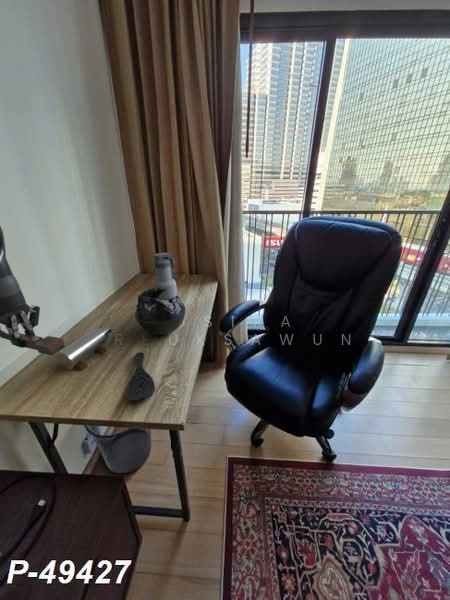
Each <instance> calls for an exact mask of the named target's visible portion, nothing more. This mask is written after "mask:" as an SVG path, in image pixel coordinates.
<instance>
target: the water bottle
mask: <svg viewBox="0 0 450 600" xmlns="http://www.w3.org/2000/svg"><path fill="white" fill-rule="evenodd" d="M153 259H154V262H153V264H154V270H155V273H156V280H155V281H154V283H153V284H154V285H153V286H154V288H155V289H157V288H161V289H166V291H164V292H162V293H161V294H160V295H159V297H158V298H157V299H159V300H164V299H170V298H174V297H176V296H177V295H178V290H177V281H176V280H175V279H177V277H178V275H177V268H176V267H175V263H176V259H175V258H174V256H173V255H171V254H169V253H168V252H158V253H154V254H153ZM173 272H174V274H173Z"/></svg>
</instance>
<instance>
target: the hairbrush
mask: <svg viewBox="0 0 450 600" xmlns="http://www.w3.org/2000/svg"><path fill="white" fill-rule="evenodd" d="M144 360H145V353H144V352H141V351H139V352H137V353H136V354H134V361H135V366H136V367H135V371H134V373H133V374H132V376H131V379H130V381H129V382H128V383H127V388H126V399H127V400H128V401H129V402H130V403H138V402H143V401H145V400H147V399H149V398H151V397H152V396H153V395H154V393H155V391H156V386H155V381H154V379H153V377H152V376H151V375H150V373H149V372H147V370H146V369H144Z"/></svg>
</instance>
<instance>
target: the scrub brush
mask: <svg viewBox="0 0 450 600" xmlns="http://www.w3.org/2000/svg"><path fill="white" fill-rule="evenodd" d="M19 335H20V336H21V338H22V340H23V342H24V344H25V347H24V348H25V349H30V350H35V351H37V352H38V353H39V354H43V355H48V356H55V355H57V353H59V352H60V351H62V350H63V349H65V348H66V346H65V341H64V339H63V338H62V337H56V336H52V335H47V336H45V337H42V336H38V335H35V336H33V335H27V334H25V333H21V332H19ZM9 341H10V343H11V345H12V346H16V345H15V344H14V341H13V339H11V340H9ZM16 347H17V346H16Z"/></svg>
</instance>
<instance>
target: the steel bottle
mask: <svg viewBox="0 0 450 600" xmlns="http://www.w3.org/2000/svg"><path fill="white" fill-rule="evenodd" d="M112 331H113V330H112V328H111V327H110V326H106V327H105V328H102V327H100V328H93V329H92V330H90V331H88V332H87V333H85V334H84V335H83V336H81V337H80V338H78V339H76V340H75V341H73V342H71V344H69V345H68V346H65V348H63V349H62V350H60V351H59V352H57V353H56V360H57V362H59V364H60V365H61V366H62V367H63V368H64V369H67V370H73V369H75V370H79V371H83V370H85V369H86V368H88V363H87V362H84V361H85V360H86V359H87V358H89V357H90V356H91V355H93V354H94V353H95V354H98V355H101V356H102V355H104V354H105V353H106V352H107V351H108V350H107V347H104V345H106V344H107V341H108V339H109V336H110V334H111V333H112Z"/></svg>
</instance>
